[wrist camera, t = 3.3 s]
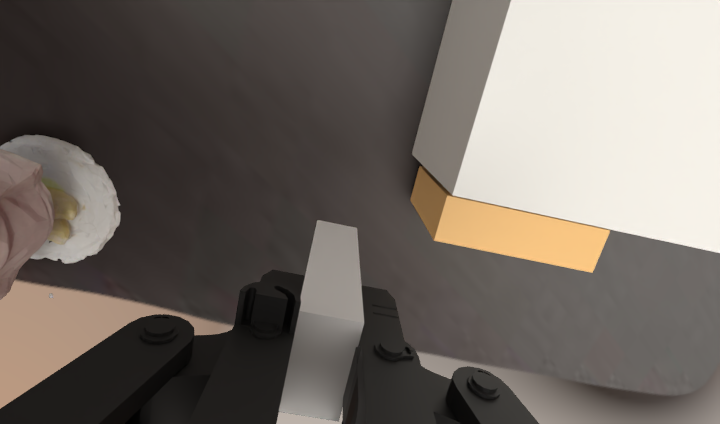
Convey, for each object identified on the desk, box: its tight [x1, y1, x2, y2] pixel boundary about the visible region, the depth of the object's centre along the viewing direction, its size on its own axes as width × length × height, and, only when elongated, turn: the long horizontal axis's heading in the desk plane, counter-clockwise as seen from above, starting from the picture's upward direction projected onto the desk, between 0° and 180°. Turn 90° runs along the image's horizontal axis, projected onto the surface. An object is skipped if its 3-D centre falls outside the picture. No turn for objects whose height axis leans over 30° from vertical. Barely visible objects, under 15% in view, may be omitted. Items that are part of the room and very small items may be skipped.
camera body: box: [412, 0, 720, 253], centre depth 20 cm, size 21×12×11 cm, turn 77°
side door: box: [410, 166, 610, 273], centre depth 23 cm, size 8×2×7 cm, turn 77°
